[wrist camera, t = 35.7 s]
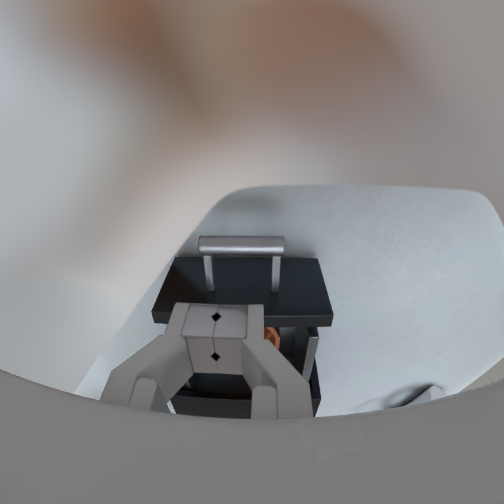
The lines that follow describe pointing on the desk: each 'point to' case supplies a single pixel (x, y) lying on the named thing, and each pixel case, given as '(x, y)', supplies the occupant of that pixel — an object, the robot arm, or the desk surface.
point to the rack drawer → (251, 297)
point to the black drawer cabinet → (230, 401)
